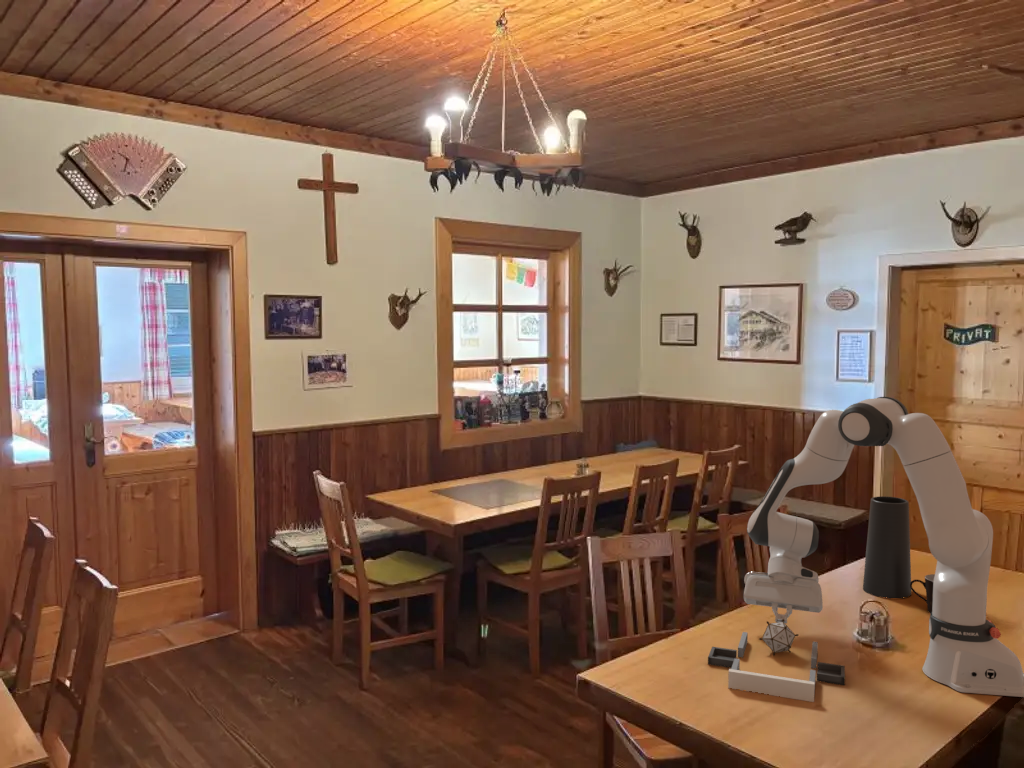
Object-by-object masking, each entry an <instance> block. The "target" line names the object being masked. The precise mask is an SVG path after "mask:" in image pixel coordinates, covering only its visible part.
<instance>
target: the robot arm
mask: <svg viewBox="0 0 1024 768" xmlns="http://www.w3.org/2000/svg"><path fill="white" fill-rule="evenodd" d="M886 445H889V446H891V447H892V448H893V449H894V450H895V451H896V454H897V455H898V457H899V459H900V462H901V465H902V467H903V469H904V471H905V474H906V476H907V478H908V481H909V483H910V486H911V488H912V490H913V492H914V495H915V497H916V500H917V504H918V508H919V512H920V516H921V519H922V523H923V527H924V529H925V532H926V537H927V540H928V547H929V550H930V553H931V555H932V557H933V558H934V559H936V566H935V572H934V574H935V576H934V581H933V606H932V612H931V613H929V614H930V615H929V620H928V635H929V637H930V638H929V644H928V649H927V655H926V657H925V661H924V664H923V665H922V671H923V673H924V674H925V675H926V676H927V677H929V678H930V679H932V680H934V681H936V682H938V683H941V684H943V685H946V686H948V687H950V688H951V689H953V690H954V691H957V692H959V693H966V694H980V695H991V696H993V695H994V696H1006V697H1016V698H1017V697H1019V698H1020V697H1021V698H1024V672H1023V671H1024V670H1023V666H1022V664H1021V661H1020V658H1018V656H1017V654H1016V653H1015V652H1013V651H1012V649H1010V648H1009V647H1008V646H1006V645H1005V644H1004V643H1002V642H1001V641H1000V640H999V638H1001V635H1002V634H1001V632H1000V630H999V628H997V627H996V625H995V624H994V623H993V622H992V621H991V619H987V602H988V584H989V576H990V569H991V562H992V553H993V552H992V550H993V540H994V529H993V525H992V522H991V520H990V519H989V518H988V517H987V515H986V514H984V513H983V512H981V511H980V510H977V509H974V508H973V507H972V503H971V500H970V497H969V494H968V489H967V482H966V480H965V478H964V476H963V473H962V472H961V468H960V466H959V465H958V462H957V460H956V458H955V456H954V454H953V451H952V449H951V447H950V445H949V443H948V441H947V439H946V438H945V435H944V434H943V432H942V431H941V429H940V427H939V426H938V425H937V423H936V422H935V420H934V419H933V418H932V417H931V416H930V415H929V414H926V413H923V412H913V413H909V411H908V409H907V407H906V406H905V405H904V404H903V403H902V401H900V400H899V399H897V398H894V397H892V396H891V397H889V396H879V397H876V398H867V399H864V400H861V401H859V402H857V403H856V402H855V403H853V404H850V405H849V406H847V407H846V408H845V409H844V410H843V411H842V410H838V409H828V410H825V411H824V412H822V414H820V416H819V417H818V419H817V420H816V421H815V423H814V426H813V428H812V429H811V431H810V433H809V435H808V438H807V440H806V444H805V445H804V448H803V449H802V450H801V452H800V453H799V454H797V456H795V457H794V458H791V459H788V460H786V461H785V462H784V463H783V465H782V466H781V468H780V469H779V470H778V472H777V473H776V476H775V477H774V479H773V480H772V482H771V484H770V485H769V488H768V489H767V490H766V491H765V495H764V496H763V497H762V499H761V501H760V502H759V504H758V506H757V507H756V508H755V509H754V510H753V512H752V514H751V516H750V517H749V519H748V522H747V528H746V533H747V535H748V536H749V539H751V540H752V542H753V543H754V544H755V545H758V546H764V547H769V555H770V557H769V560H768V564H767V572H760V571H759V572H758V571H753V570H752V571H750V572H747V573H746V574H745V575H744V579H743V581H744V582H743V583H744V584H745V587H744V589H743V600H744V602H745V603H746V604H747V605H753V606H761V607H771V611H772V612H773V614H774V616H775V623H777V622H782V619H784V623H785V624H786V625H787V624H788V619H789V617H790V616H791V615H792V614H793V610H795V611H801V612H810V613H818V614H819V613H821V612H822V611H823V610H824V609H823V607H824V606H823V592H822V587H821V584H820V583H819V582H820V581H819V575H818V574H819V573H817V571H814V570H811V569H809V568H806V567H804V566H803V565H802V558H807V557H808V556H810V555H812V554H813V553H815V552H816V550H817V549H818V547H819V541H820V540H819V538H820V531H819V528H818V527H817V525H816V524H815V522H814V521H813V520H809V519H806V518H803V517H798V516H795V515H790V514H787V513H783V512H779V511H778V509H779V507H780V506H781V504H782V502H783V501H784V499H785V497H786V495H787V494H788V492H789V491H791V490H792V489H794V488H797V487H801V486H808V485H809V486H810V485H822V484H829V483H831V482H834V481H835V480H837V479H838V478H840V476H842V475H843V473H844V472H845V469H846V467H847V465H848V463H849V460H850V458H851V455H852V453H853V450H854V448H855V446H858V447H884V446H886ZM779 609H785V610H786V612H785V613H783V614H782V613H779V612H778V611H779Z"/></svg>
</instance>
